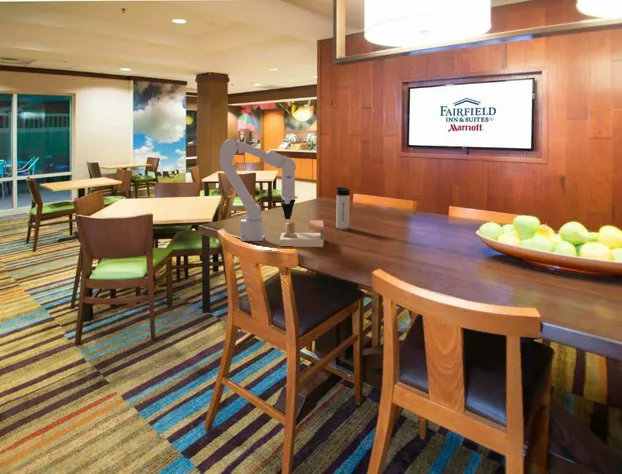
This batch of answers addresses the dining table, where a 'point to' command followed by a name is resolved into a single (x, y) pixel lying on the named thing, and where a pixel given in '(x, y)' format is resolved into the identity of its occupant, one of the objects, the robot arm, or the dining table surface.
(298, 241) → the socket block
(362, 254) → the dining table surface
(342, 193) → the travel mug
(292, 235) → the peg
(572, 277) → the dining table surface
